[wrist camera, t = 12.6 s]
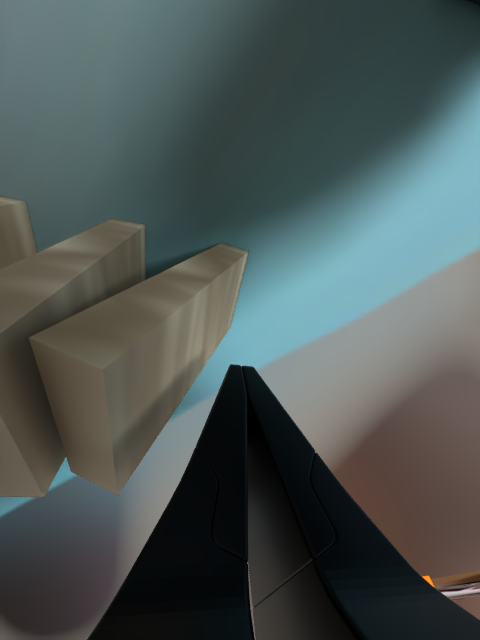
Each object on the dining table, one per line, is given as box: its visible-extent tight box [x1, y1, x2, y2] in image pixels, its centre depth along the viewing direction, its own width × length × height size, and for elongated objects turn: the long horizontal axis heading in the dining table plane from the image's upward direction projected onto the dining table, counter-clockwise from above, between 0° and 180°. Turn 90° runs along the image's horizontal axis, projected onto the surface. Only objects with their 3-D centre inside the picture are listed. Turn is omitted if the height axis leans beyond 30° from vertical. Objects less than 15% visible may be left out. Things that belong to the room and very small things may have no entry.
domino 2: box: [29, 243, 249, 495], centre depth 10 cm, size 2×5×10 cm, turn 167°
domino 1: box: [0, 218, 146, 497], centre depth 9 cm, size 2×5×10 cm, turn 168°
